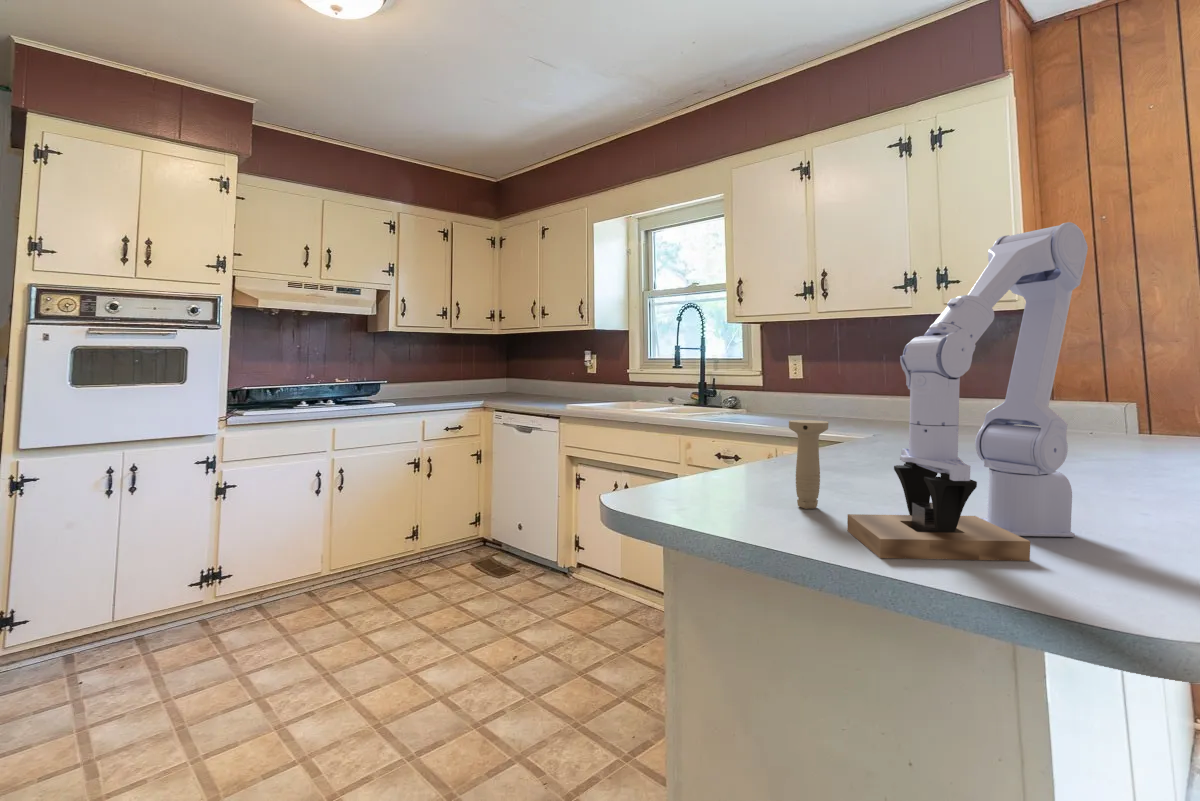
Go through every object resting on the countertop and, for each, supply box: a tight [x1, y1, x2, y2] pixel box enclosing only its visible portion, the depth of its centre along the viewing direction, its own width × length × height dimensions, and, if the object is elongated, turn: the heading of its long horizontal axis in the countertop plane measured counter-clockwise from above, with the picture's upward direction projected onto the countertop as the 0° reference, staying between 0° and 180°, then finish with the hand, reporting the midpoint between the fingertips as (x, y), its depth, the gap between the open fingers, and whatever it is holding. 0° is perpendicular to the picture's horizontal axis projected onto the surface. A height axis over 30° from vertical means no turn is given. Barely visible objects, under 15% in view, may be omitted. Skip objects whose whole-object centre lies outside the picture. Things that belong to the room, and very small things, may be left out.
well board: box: [846, 513, 1031, 562], centre depth 77 cm, size 18×12×2 cm, turn 85°
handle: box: [788, 419, 829, 510], centre depth 98 cm, size 5×6×15 cm
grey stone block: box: [912, 502, 956, 533], centre depth 77 cm, size 4×4×6 cm
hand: (931, 522), depth 77 cm, fingers open, 7 cm apart
